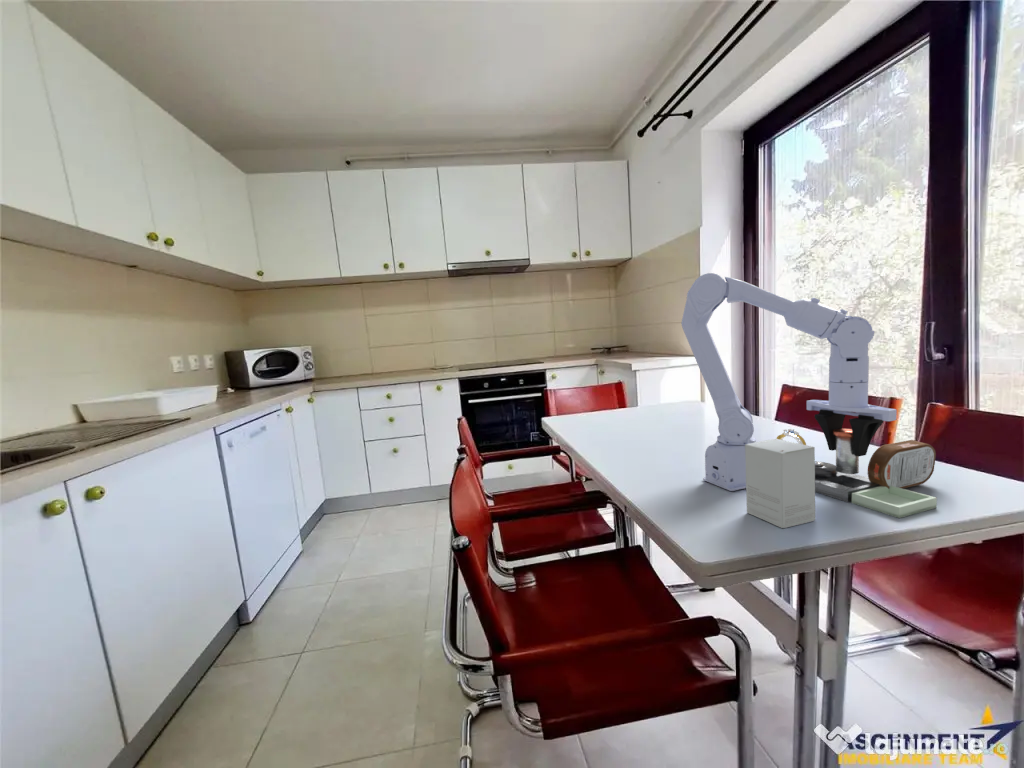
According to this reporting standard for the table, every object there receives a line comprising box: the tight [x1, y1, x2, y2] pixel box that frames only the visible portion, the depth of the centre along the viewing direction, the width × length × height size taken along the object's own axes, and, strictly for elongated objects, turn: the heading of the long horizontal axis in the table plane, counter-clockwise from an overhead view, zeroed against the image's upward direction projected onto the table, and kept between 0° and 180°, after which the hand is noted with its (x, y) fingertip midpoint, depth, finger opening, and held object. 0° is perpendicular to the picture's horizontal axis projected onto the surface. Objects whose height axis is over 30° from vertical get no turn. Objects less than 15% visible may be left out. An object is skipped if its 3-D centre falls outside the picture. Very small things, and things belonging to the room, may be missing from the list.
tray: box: [851, 486, 938, 519], centre depth 72 cm, size 9×7×2 cm
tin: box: [867, 439, 937, 489], centre depth 78 cm, size 15×3×8 cm, turn 107°
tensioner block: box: [815, 460, 880, 503], centre depth 82 cm, size 10×12×4 cm
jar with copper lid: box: [833, 428, 860, 475], centre depth 79 cm, size 4×4×8 cm
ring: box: [775, 428, 807, 445], centre depth 98 cm, size 7×3×8 cm, turn 10°
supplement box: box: [745, 438, 816, 529], centre depth 71 cm, size 7×7×13 cm
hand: (847, 452), depth 79 cm, fingers closed on jar with copper lid, 4 cm apart
